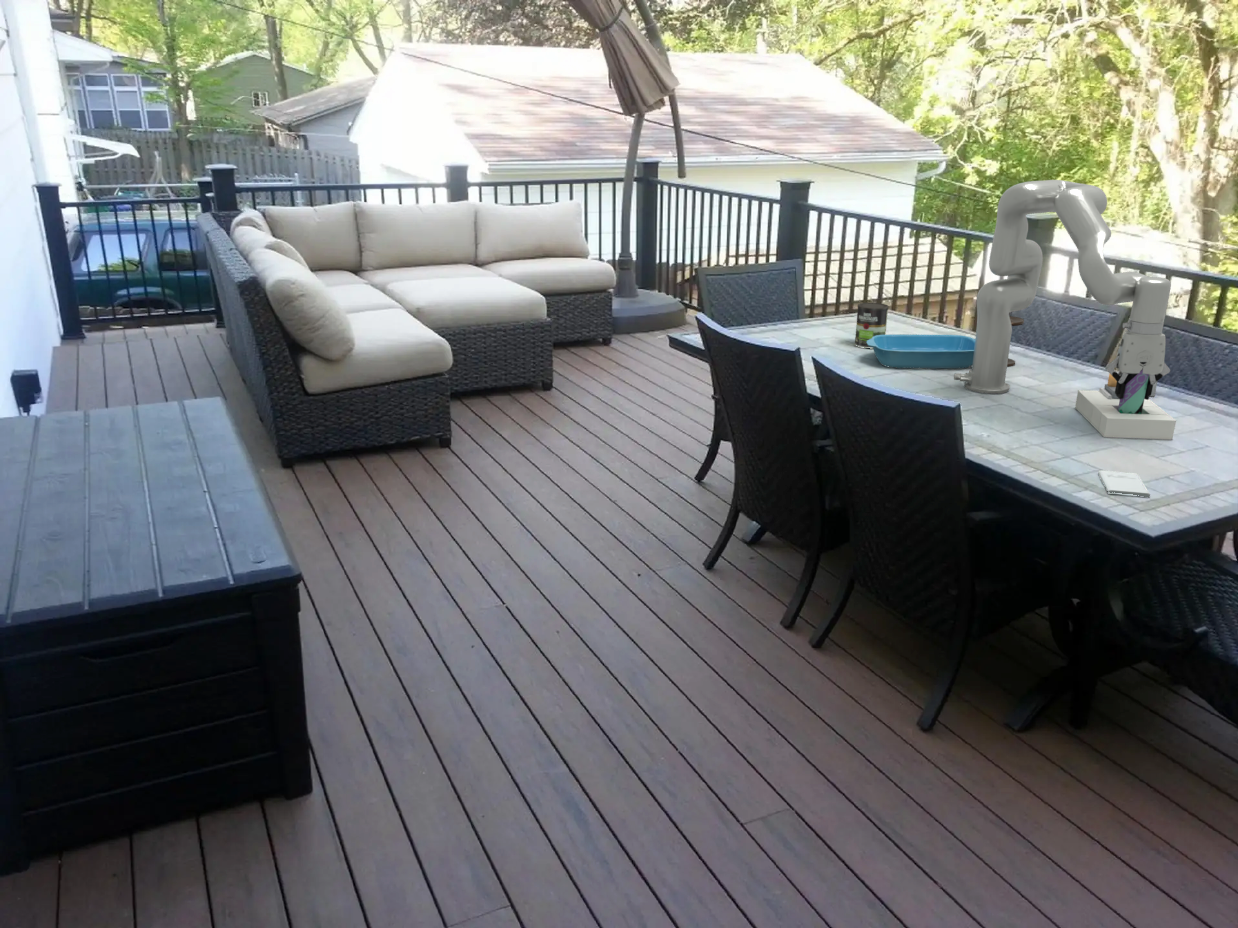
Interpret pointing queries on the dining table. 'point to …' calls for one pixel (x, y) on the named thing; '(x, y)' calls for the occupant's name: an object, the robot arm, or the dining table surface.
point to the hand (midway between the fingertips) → (1132, 397)
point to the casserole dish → (923, 351)
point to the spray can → (1134, 393)
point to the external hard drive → (1123, 483)
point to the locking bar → (1111, 386)
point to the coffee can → (870, 322)
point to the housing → (1124, 417)
